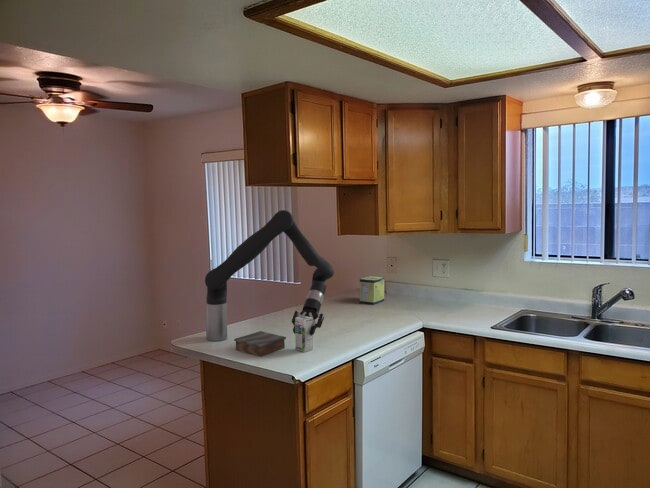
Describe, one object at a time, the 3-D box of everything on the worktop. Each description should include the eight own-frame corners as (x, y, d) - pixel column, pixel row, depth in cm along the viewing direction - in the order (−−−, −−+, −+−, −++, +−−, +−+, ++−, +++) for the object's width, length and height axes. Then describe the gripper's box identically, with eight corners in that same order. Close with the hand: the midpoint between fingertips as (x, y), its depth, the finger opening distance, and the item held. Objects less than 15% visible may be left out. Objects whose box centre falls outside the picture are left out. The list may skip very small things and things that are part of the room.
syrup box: (294, 349, 212) (294, 317, 211) (304, 346, 216) (304, 315, 215) (303, 352, 208) (303, 319, 207) (313, 349, 212) (313, 317, 211)
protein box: (384, 300, 316) (384, 277, 314) (373, 305, 302) (374, 280, 301) (370, 299, 321) (370, 275, 320) (359, 303, 308) (359, 279, 307)
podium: (234, 350, 212) (234, 338, 212) (260, 341, 225) (260, 331, 224) (260, 357, 202) (259, 345, 202) (286, 348, 215) (286, 337, 214)
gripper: (296, 296, 220) (285, 327, 210) (325, 298, 214) (315, 331, 205) (302, 305, 225) (290, 336, 215) (330, 308, 220) (320, 340, 210)
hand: (302, 333), depth 210 cm, fingers closed on syrup box, 7 cm apart
